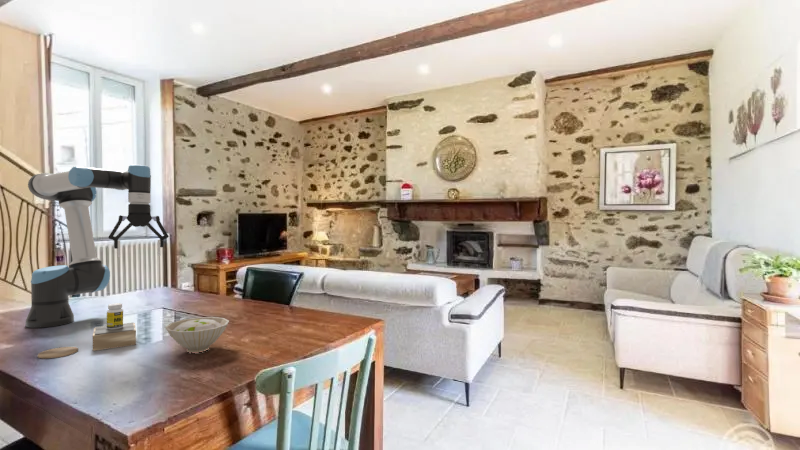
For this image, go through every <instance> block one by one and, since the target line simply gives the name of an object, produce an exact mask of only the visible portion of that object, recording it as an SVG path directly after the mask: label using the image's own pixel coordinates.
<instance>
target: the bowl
mask: <svg viewBox="0 0 800 450" xmlns="http://www.w3.org/2000/svg"><path fill="white" fill-rule="evenodd" d="M229 322H230V320H229V319H227V318H224V317H217V316H204V317H203V316H202V317H192V318H186V319H180V320H177V321H174V322H170V323H169V324H168V325H166V326H165V329H166V331H167V333H168V334H169V336H170V338H172V340H174V341H175V342H176V343H177V344H178V345H179V346H181V348H184V349H187V350H186V351H188V352H200V351H204V350H206V349H208V348H210V346H211V345H213V344H214V343H216V342H217V340H218V339H219V338H220V337H221V335H222V334H223V333H224V332H225V331H226V328H227V327H228V325H229Z"/></svg>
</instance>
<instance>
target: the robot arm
mask: <svg viewBox="0 0 800 450" xmlns="http://www.w3.org/2000/svg"><path fill="white" fill-rule="evenodd" d="M151 178H152V175H151V168H150V167H149V165H142V164H129V166H128V168H127V170H117V169H116V170H114V169H107V168H106V169H105V168H96V167H87V166H73V167H71V169H69V170H68V171H64V172H63V171H62V172H58V173H49V172H42V173H36V174H34V175H33V176H32V177H30V178H29V179H28V182H27V187H28V190H29V192H30V193H31V194H32V195H33V196H34V197H36V198H39V199H41V200H42V199H43V200H45V201H46V200H47V201H58V205H59V207H60V208H63V210H64V216H65V221H66V227H67V228H66V229H67V233H68V234H67V235H68V241H69V247H70V253H71V260H72V261H71V262H70V263H69V264H68V265H64V264H63V265H62V264H61V265H52V266H46V267H41V268H39V269H38V268H37V269H36V270H34V271H32V273H31V280H30V283H31V284H30V287H31V288H30V289H31V296H30V297H31V300H30V301H31V305H30V306H31V307H30V310H29V312H28V314H27V317H26V318H25V327H26V328H31V329H38V328H40V329H42V328H52V327H56V326H62V325H66V324H70V323H73V322H74V321H75V315H74V313H73V309H72V308H71V305H70V303H69V302H70V301H69V300H70V298H69V297H70V296H74V295H80V294H88V293H89V294H90V293H95V292H96V293H97V292H100V291H103V290H104V289H106V288H107V286H108V285H109V283H110V278H111V271H110V268H109V266H107V265H106V264H103V262H102V260H101V259H100V258H98V257H97V252H96V246H95V241H94V240H95V239H94V234H93V225H92V222H91V220H92V219H91V215H90V209H89V208H90V207H91V205H92V203H93V201H95V200H96V198H97V188H99V189H100V188H101V189H112V190H117V191H125V190H128V191H127V192H128V193H127V194H128V195H127V196H128V199H127V200H128V201H127V202H128V206H127V209H128V210H127V212H128V213H127V215H119V216H118V220H117V222H116V224H115V226H114V227H113V229H112V231H111V232H110V234H109V236H108V239H109V240H112V241H113V248H114V249H116V250H117V258H121V240H119V239H120V238H121V237H122V236H123V235H124V234H125V233H126V232H127V231H128V230H129V229H130V228H131V227H135V228H137V227H138V228H139V227H141V228H142V227H143V228H145V227H147V228H149V229H150V230H151V231H152V232H153V234H155V236H157V237H158V238H159V239H157V256H159V257H160V256H161V248H164V241H165V239H166V240H167V239H168V238H169V235H168V233H167V231H166V229H165V227H164V226H163V224H162V222H161V219H160V216H159V215H155V216H152V215H151V189H152V188H151V180H152V179H151ZM126 220H127V222H129V223H128V224H127V225H126V226H125V227H124V228H123V229H122V230H121V231H120V232H119V233H118V234H117V235H116V236H115V234H116V233H117V231H118V229H119V228H120V225H121V224H122V222H125V221H126ZM152 220H153V221H154V222H156V224H157V227H158V228H159V229H160V232H162V235H161V234H160V232H158V230H157V229H156V228H155V227H154V226H153V225H152V224H151V223H150V222H151V221H152Z"/></svg>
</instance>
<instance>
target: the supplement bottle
mask: <svg viewBox="0 0 800 450" xmlns="http://www.w3.org/2000/svg"><path fill="white" fill-rule="evenodd" d="M107 308H108V310H107V311H106V326H107V329H111V330H112V329H119V328H122V327H123V324H124V309H123V303H121V302H120V303H116V302H114V303H110V304H108V306H107Z"/></svg>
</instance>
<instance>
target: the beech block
mask: <svg viewBox="0 0 800 450" xmlns="http://www.w3.org/2000/svg"><path fill="white" fill-rule="evenodd" d="M136 345H137V329H136V323H135V322H126V323H123V327H122V328H119V329H112V330H111V329H107V325H101V326H95V327H94V328H93V333H92V352H94V351H102V350H107V349H115V348H123V347H129V346H130V347H131V346H136Z"/></svg>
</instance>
